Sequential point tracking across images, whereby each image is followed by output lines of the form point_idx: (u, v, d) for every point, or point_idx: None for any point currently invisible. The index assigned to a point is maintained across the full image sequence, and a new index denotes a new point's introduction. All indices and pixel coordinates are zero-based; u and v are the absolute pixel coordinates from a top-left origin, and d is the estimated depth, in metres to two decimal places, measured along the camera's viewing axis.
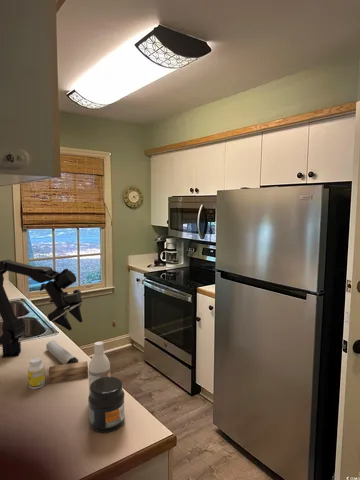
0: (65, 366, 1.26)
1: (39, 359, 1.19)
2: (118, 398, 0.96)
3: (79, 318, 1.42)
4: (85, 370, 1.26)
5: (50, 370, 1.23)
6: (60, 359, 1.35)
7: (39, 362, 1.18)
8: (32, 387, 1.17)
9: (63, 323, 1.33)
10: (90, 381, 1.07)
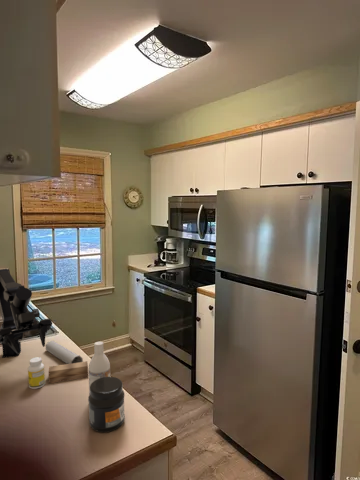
0: (65, 366, 1.26)
1: (39, 359, 1.19)
2: (118, 398, 0.96)
3: (42, 342, 1.26)
4: (85, 370, 1.26)
5: (50, 370, 1.23)
6: (64, 358, 1.35)
7: (39, 362, 1.18)
8: (32, 387, 1.17)
9: (11, 345, 1.21)
10: (90, 381, 1.07)
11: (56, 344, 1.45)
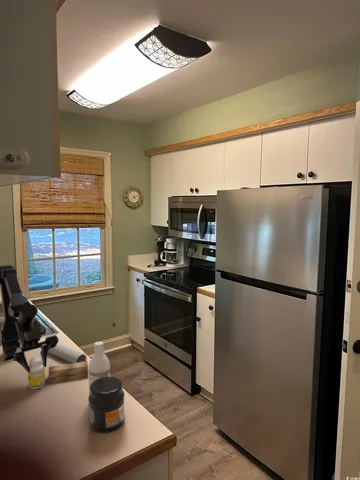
0: (65, 366, 1.26)
1: (39, 359, 1.19)
2: (118, 398, 0.96)
3: (43, 362, 1.21)
4: (85, 370, 1.26)
5: (50, 370, 1.23)
6: (67, 357, 1.36)
7: (39, 362, 1.18)
8: (32, 387, 1.17)
9: (22, 363, 1.18)
10: (90, 381, 1.07)
11: None
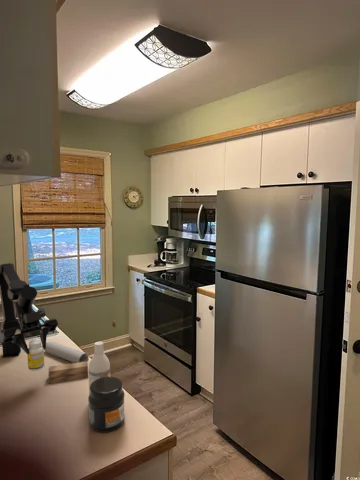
0: (65, 366, 1.26)
1: (38, 341, 1.18)
2: (118, 398, 0.96)
3: (43, 344, 1.20)
4: (85, 370, 1.26)
5: (50, 370, 1.23)
6: (69, 357, 1.37)
7: (38, 344, 1.18)
8: (31, 369, 1.17)
9: (21, 345, 1.17)
10: (90, 381, 1.07)
11: (56, 344, 1.45)
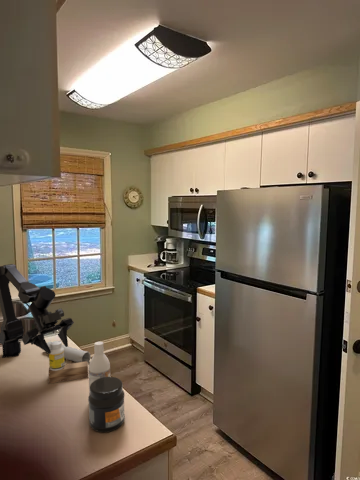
0: (65, 366, 1.26)
1: (59, 342, 1.24)
2: (118, 398, 0.96)
3: (64, 342, 1.26)
4: (85, 370, 1.26)
5: (50, 370, 1.23)
6: (71, 356, 1.37)
7: (60, 345, 1.23)
8: (54, 369, 1.22)
9: (41, 345, 1.21)
10: (90, 381, 1.07)
11: None
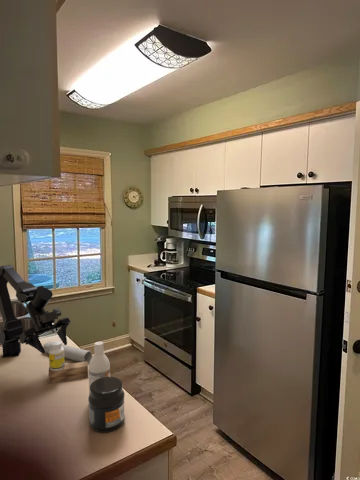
0: (65, 366, 1.26)
1: (59, 342, 1.24)
2: (118, 398, 0.96)
3: (64, 340, 1.28)
4: (85, 370, 1.26)
5: (50, 370, 1.23)
6: (72, 355, 1.38)
7: (60, 345, 1.23)
8: (54, 369, 1.22)
9: (36, 346, 1.21)
10: (90, 381, 1.07)
11: None
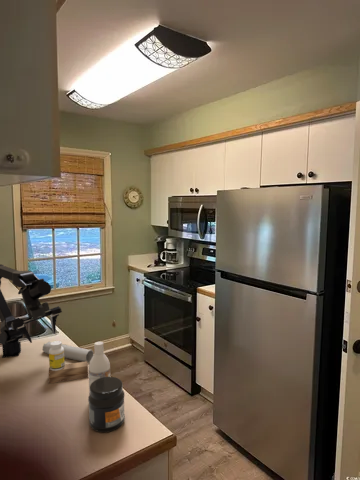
0: (65, 366, 1.26)
1: (59, 342, 1.24)
2: (118, 398, 0.96)
3: (53, 329, 1.36)
4: (85, 370, 1.26)
5: (50, 370, 1.23)
6: (74, 355, 1.38)
7: (60, 345, 1.23)
8: (54, 369, 1.22)
9: (25, 334, 1.31)
10: (90, 381, 1.07)
11: None
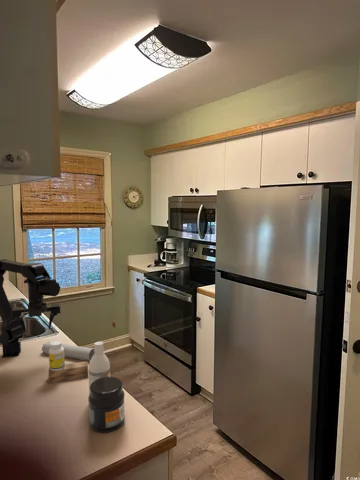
0: (65, 366, 1.26)
1: (59, 342, 1.24)
2: (118, 398, 0.96)
3: None
4: (85, 370, 1.26)
5: (50, 370, 1.23)
6: (76, 354, 1.39)
7: (60, 345, 1.23)
8: (54, 369, 1.22)
9: None
10: (90, 381, 1.07)
11: None
